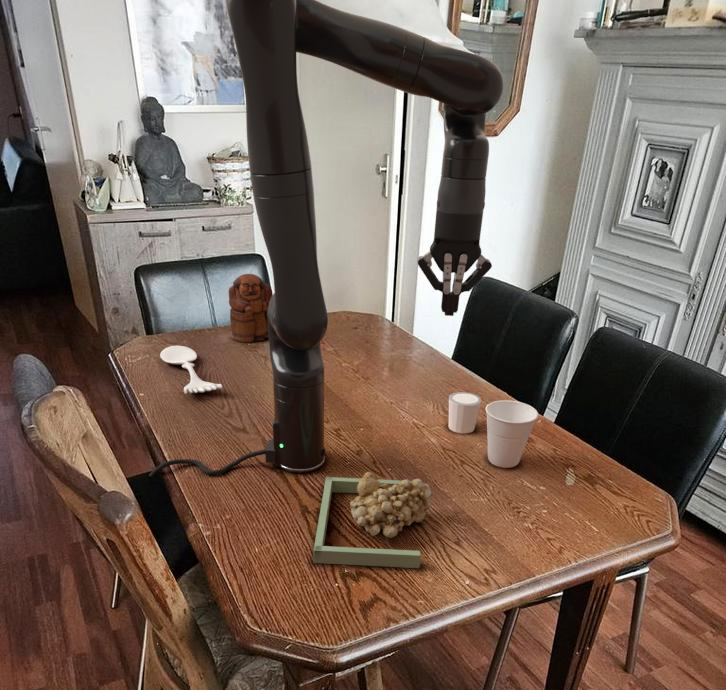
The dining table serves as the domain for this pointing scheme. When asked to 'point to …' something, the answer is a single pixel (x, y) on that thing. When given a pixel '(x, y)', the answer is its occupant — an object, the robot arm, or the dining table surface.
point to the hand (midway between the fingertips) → (448, 314)
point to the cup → (508, 431)
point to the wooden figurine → (249, 308)
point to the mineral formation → (389, 504)
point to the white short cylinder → (463, 412)
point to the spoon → (185, 357)
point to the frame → (349, 553)
